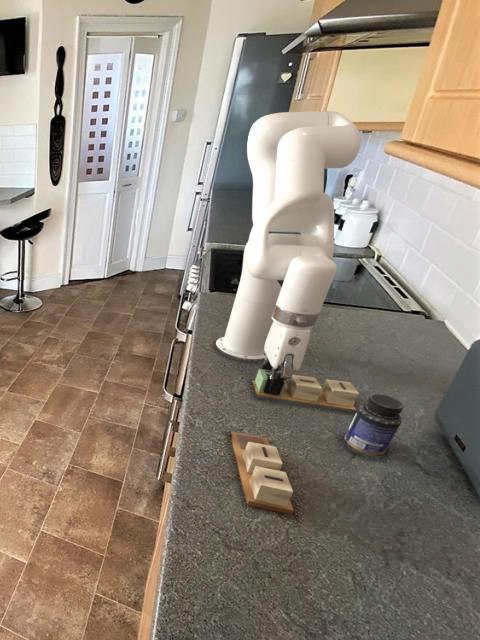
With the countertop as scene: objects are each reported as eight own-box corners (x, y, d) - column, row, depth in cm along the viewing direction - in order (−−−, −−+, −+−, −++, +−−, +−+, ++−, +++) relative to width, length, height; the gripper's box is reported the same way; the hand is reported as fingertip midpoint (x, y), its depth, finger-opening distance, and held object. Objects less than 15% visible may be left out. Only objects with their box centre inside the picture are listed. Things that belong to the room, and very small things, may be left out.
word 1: (229, 435, 87) (235, 417, 85) (266, 441, 85) (273, 423, 83) (247, 504, 72) (255, 485, 70) (292, 514, 70) (301, 494, 68)
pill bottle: (391, 460, 80) (418, 413, 75) (353, 456, 81) (377, 409, 76) (371, 438, 85) (395, 392, 80) (335, 435, 86) (357, 389, 81)
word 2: (250, 383, 103) (256, 367, 101) (343, 397, 97) (351, 379, 95) (256, 398, 98) (262, 381, 96) (355, 413, 92) (364, 396, 90)
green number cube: (254, 381, 102) (259, 368, 100) (276, 384, 100) (281, 371, 99) (258, 391, 98) (263, 378, 96) (281, 395, 97) (286, 382, 95)
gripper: (330, 336, 82) (297, 411, 91) (303, 301, 96) (278, 370, 105) (284, 331, 84) (257, 405, 93) (265, 298, 98) (243, 365, 107)
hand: (268, 386), depth 99 cm, fingers closed on green number cube, 4 cm apart
